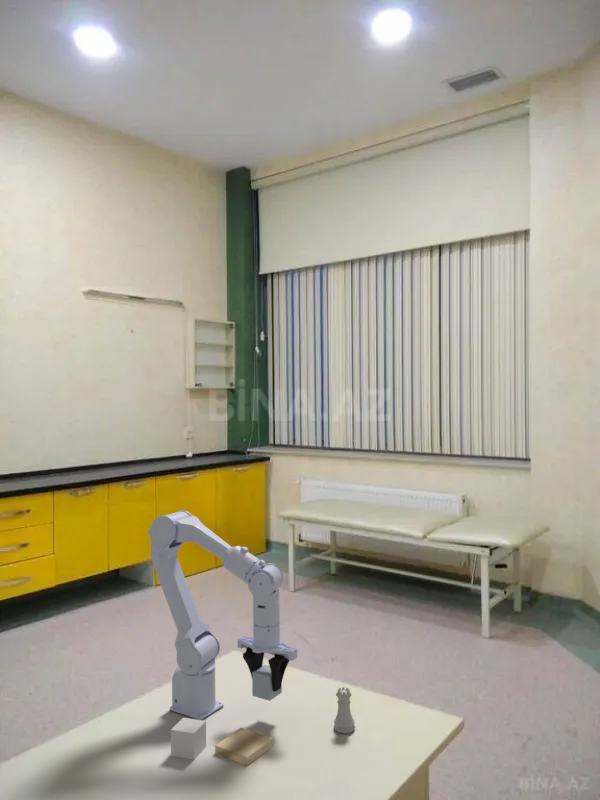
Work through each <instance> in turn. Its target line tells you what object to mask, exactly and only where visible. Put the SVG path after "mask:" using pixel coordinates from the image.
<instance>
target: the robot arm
mask: <svg viewBox="0 0 600 800" xmlns="http://www.w3.org/2000/svg"><path fill="white" fill-rule="evenodd" d="M147 533H148V535H149V539H150V559H151V562H152V565H153V567H154V570H155V573H156V575H157V578H158V582H159V583H160V586H161V588H162V589H161V590H162V592H163V594H164V597H165V600H166V603H167V605H168V608H169V612H170V613H171V616H172V619H173V621H174V624H175V627H176V630H177V634H176V638H175V640H174V647H175V650H176V663H177V668H176V669H175V671H174V673H173V675H172V678H171V698H172V699H171V701H172V702H171V706H170V707H169V711H172V712H175V713H178V714H180V715H184V716H187V717H190V718H191V719H196V720H204V719H205V718H207V717H208V716H210V715H211V714H213V713H215V712H216V711H218V710H219V709H221V708H223V707H224V705H225V704H224V703H223V702H219V701H218V700H216V658H217V657H218V656H219V654H220V652H221V651H220V650H221V643H220V640H219V639H218V637H217V635H216V634H214V633H213V631H212V630H211V627H210V625H209V624H208V623H206V622H204V621H202V619H201V616H200V614H199V612H198V609H197V606H196V603H195V601H194V598H193V596H192V593H191V591H190V589H189V585H188V583H187V580H186V577H185V575H184V572H183V570H182V566H181V564H180V562H179V559H178V557H177V556H178V553H179V551H180V549H181V547H182V545H183V543H195V544H196V545H199V546H200V547H201V548H203V549H205V550H206V551H207V552H209V553H211V554H213V555H214V556H215V557H218V558H219V559H221V560H222V563H223V564H222V565H223V567H224V568H225V570H227V571H228V572H230V573H231V574H233V576H235V577H236V578H238V579H240V580H241V581H242V582H244V583H245V584H247V586H248V589H249V591H250V593H251V595H252V618H253V623H252V626H253V627H252V629H253V630H252V631H253V633H252V634H253V635H252V636H253V637H251V636H250V637H249V636H241V637H239V638H237V648H238V649H243V648H245V649H246V650H245V652H243V653H242V658H243V660H244V661H245V663H246V665H247V667H248V670H249V672H250V676H251V677H252V672H253V671H255V670H257V669H259V668H260V667H262V666H264V664H263V662H264V657H265V654H268V655H272V656H273V657H271V658H270V659H268V666H270V669H271V675H272V689H273V691H275V692H276V691H277V690H279V689H280V688H281V684H283V678H284V675H285V671H286V669H287V667H288V664H289V662H290V661H291V662H292V661H294V660H296V659H298V648H296V647H293V646H290V645H288V644H286V643H283V642H282V641H281V639H280V638H281V633H280V631H281V629H280V627H281V625H280V623H281V621H280V619H281V618H280V589H279V588H280V587H281V586H282V583H283V581H284V578H283V577H284V576H283V573H282V570H281V569H280V568H279V567H278V566H277V565H276V564H275V563H271V562H270V563H266V561H265V560H264V559H259V558H258V557H256V556H255V555H254V554H252V553H251V552H250V551H249V547H246V546H241V545H236V546H231V544H229V543H228V542H226V541H225V540H224V539H222V538H221V537H220V536H218V535H217V534H216V533H215V532H213V531H212V530H211V529H209V528H208V527H207V526H206V525H204V524H203V523H202V522H201V520H200V519H199V517H197V516H196V515H192V513H191V512H189V511H187V510H178V511H176V512H172V513H168V514H165V515H158V517H156V518H155V519H154V520H153V521H152V523H151V525H150V527H149V529H148V531H147Z"/></svg>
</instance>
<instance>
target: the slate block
mask: <svg viewBox="0 0 600 800" xmlns="http://www.w3.org/2000/svg"><path fill="white" fill-rule="evenodd" d="M251 680H252V686H251V687H252V688H251V689H252V697H254V698H255V697H256V698H260V699H262V700H266V701H272V700H273V699H275V698H276V697H277V696H279V695H281V694H282V691H283V686H282V684H283V683H282V684H281V688H280V689H279V690H277V691H276V692H275V691H273V689H272V675H271V669H270V665H267V664H263V665H262V667H260V668H259V669H257V670H255V671H253V672H252V676H251Z"/></svg>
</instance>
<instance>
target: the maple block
mask: <svg viewBox="0 0 600 800" xmlns="http://www.w3.org/2000/svg"><path fill="white" fill-rule="evenodd" d="M273 746H274V739H273V737H270V736H268V735H264V734H261V733H259V732H255V731H252V730H249V729H246V728H243V727H239V728H238V729H237V730H235V731H234V732H232V733H231V734H229V735H228V736H226V737H225V738H224V739H222V740H221V741H219V742H218V743H216V744H215V745H214V754H216V755H219V756H221V757H224V758H227V759H230V760H232V761H235V762H237V763H240V764H243V765H245V766H249V765H250V764H252V763H253V762H254V761H256V760H257V759H258V758H260V757H261V756H262V755H263V754H264V753H266V752H267V751H268V750H270V749H271V748H272V747H273Z"/></svg>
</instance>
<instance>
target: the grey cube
mask: <svg viewBox="0 0 600 800" xmlns="http://www.w3.org/2000/svg"><path fill="white" fill-rule="evenodd" d="M206 747H207V721H206V720H204V719H202V720H198V719H195V718H188V717H182V718H181V719H180V720H179V722H177V723H176V724H175V725H174V726H173V727H172V728H171V729H170V756H171V757H174V758H175V757H176V758H182V759H187V760H188V759H189V760H193V761H195V760H196V759H197V757H198V756H199V755H200V754H201V753H202V752H203V750H205V749H206Z"/></svg>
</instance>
